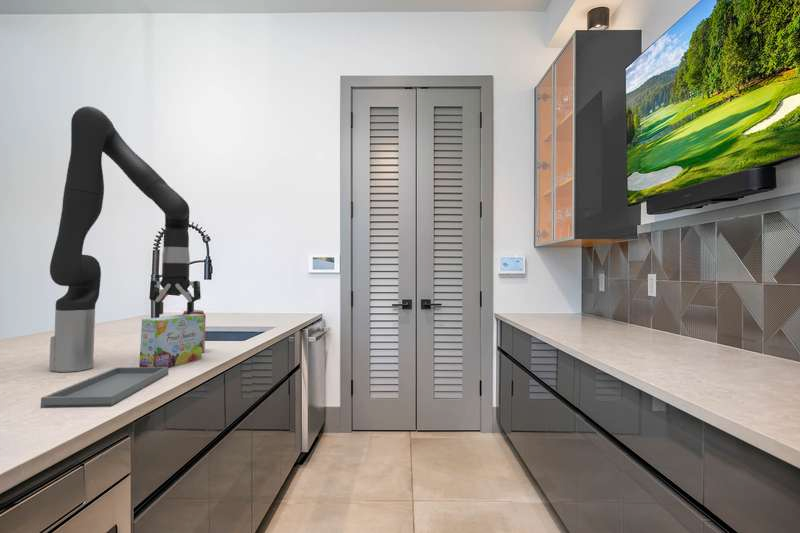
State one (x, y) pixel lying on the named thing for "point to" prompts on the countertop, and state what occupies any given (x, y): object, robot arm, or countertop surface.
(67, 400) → the tray
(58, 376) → the countertop surface
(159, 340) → the snack box
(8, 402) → the countertop surface
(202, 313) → the soda can
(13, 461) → the countertop surface
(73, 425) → the countertop surface
